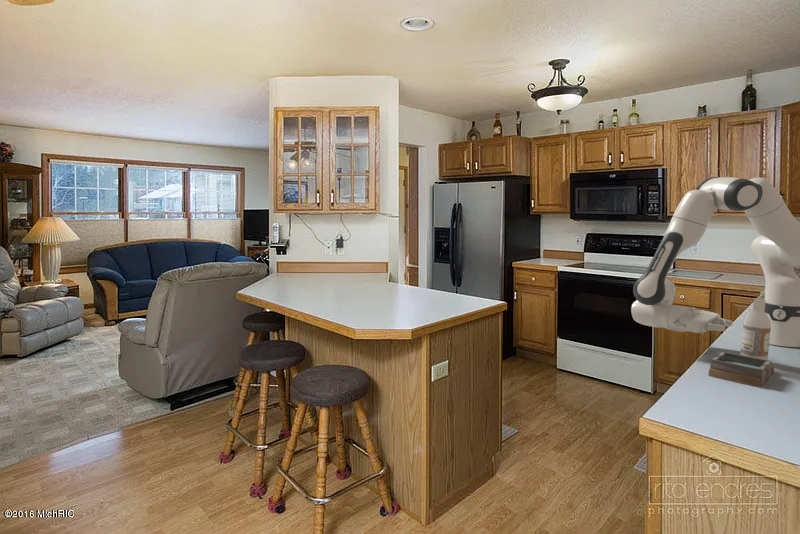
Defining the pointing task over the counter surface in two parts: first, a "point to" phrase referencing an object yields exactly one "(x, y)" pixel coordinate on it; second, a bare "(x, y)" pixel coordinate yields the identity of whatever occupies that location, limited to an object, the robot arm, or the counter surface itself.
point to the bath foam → (756, 332)
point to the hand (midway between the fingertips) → (728, 326)
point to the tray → (741, 368)
